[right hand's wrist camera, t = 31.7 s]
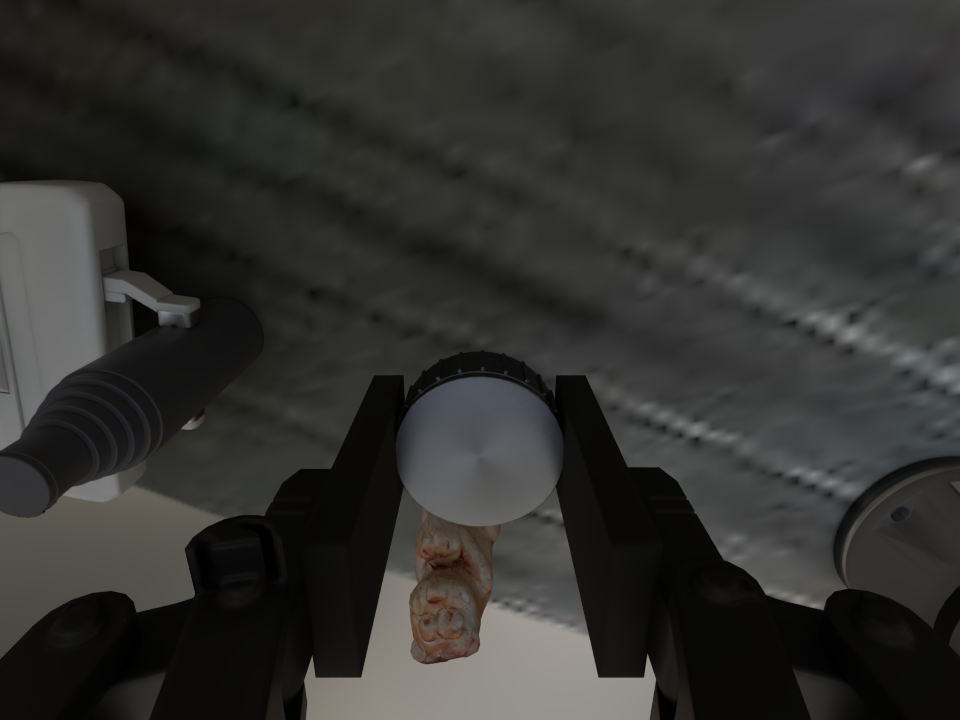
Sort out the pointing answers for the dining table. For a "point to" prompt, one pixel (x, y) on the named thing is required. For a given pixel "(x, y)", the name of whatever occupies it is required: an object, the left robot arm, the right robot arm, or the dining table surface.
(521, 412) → the cap
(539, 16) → the dining table surface
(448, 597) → the figurine
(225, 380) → the bottle
